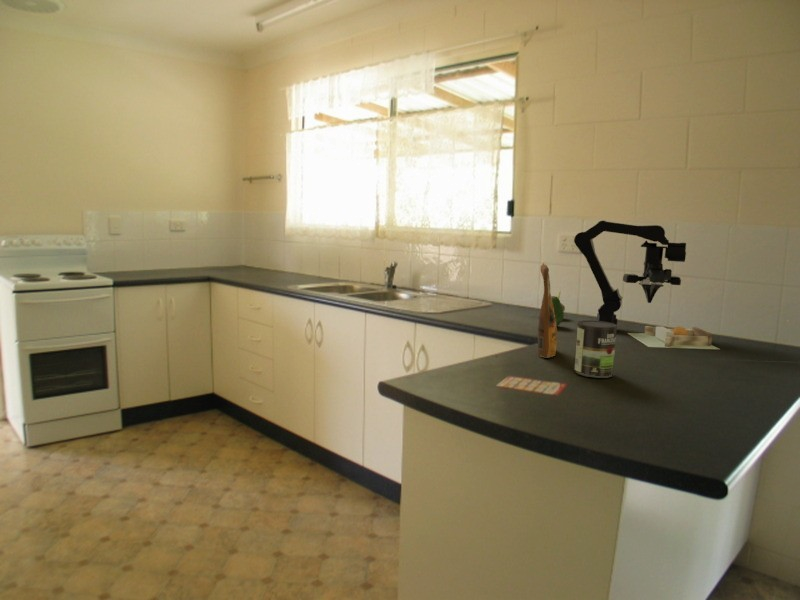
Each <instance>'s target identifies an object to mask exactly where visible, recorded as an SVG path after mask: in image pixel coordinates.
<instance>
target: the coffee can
mask: <svg viewBox="0 0 800 600" xmlns="http://www.w3.org/2000/svg"><path fill="white" fill-rule="evenodd" d="M576 325H577V330H576V331H577V332H576V344H575V345H576V346H575V347H576V348H575V358H574V359H575V360H574V370H576V371H578V372H581V373H584V374H589V375H595V376H609V375H612V374H613V375H614V365H615V355H616V342H617V339H616V338H617V332H618V324H617V325H616V324H613V323H610V322H603V321H597V320H591V319H590V320H579V321H577V324H576Z"/></svg>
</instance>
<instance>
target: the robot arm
mask: <svg viewBox="0 0 800 600" xmlns="http://www.w3.org/2000/svg"><path fill="white" fill-rule="evenodd" d="M603 232H606V233H607V232H608V233H613V234H614V233H615V234H622V235H629V236H635V237H639V238H642V239H645V241H644V242H643V243H642V244H640V248H645V253H644V254H645V256H644V257H645V258H644V261H643V273H642V276H641V275H640V276H639V275H638V274H636V273H624V274H623V277H622V281H623V282H625V283H627V284H629V283H630V284H636V283H638V285H640V286H641V287H642V289H643V292H644V294H645V298H646V302H647V303H648V304H651V303H652V302H653V299H654V297H655V295H656V293H657V292H658V290H660V289H661V288H662V287H664V283H666V284H670V285H672V286H673V285H674V286H681V284H682V279H681V277H680V276H676V275H672V274H673V273H672V271H673V270H672V269H671V268H669V269H668V268H665V269H664V267H663V256H664V259H667V262H676V263H679V262H680V263H685V262H686V258H687V257H686V256H687V252H686V250H687V243H686V242H670V241H669V239H667V237H666V236H665V235H666V231H665V228H664V227H663V226H662V225H657V224H650V225H636V224H635V225H633V224H627V223H620V222H611V221H607V220H600V221H598V222H597V223H596V224H595V225H593V226H591V227H590V228H588V229H587V230H586V231H582V232H578V233H577V234H575V236H574V238H573V242H574V244H575V246H576V247H577V249H578V250H579V252H580V253H581V254H582V255H583V256H584V258H585V259H586V261H587V264H588V266H589V268H590V270H591V272H592V274H593V276H594V279H595V281H596V283H597V285H598V287H599V289H600V292H601V297H602V302H603V304H601V305H600V307H599V308H598V309H597V312H598V313H597V314H596V321H603V322H610V323H613V324H616V325H617V326H618V318H617V315H616V314H615V313H616V312H617V311H619V309H621V306H622V304H623V301H622V300H623V296H622V295H621V294H620V290H619V288H616V289H615V288H614V287H613V286H612V285H611V283H610V281H609V279H608V276H607V275H606V272H605V270H604V268H603V266H602V264H601V262H600V260H599V257H598V255H597V253H596V248H595V244H594V241H593V240H594V239H595V238H596V237H598V236H599V235H601V234H602V233H603ZM648 241H651V242H648ZM657 242H658V243H660V244H661V246H660V245H658V243H657ZM664 249H665V251H664Z"/></svg>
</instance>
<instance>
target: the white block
mask: <svg viewBox="0 0 800 600" xmlns="http://www.w3.org/2000/svg"><path fill="white" fill-rule="evenodd" d="M655 327H656V334H655V337H657V338H658V339H660V340H662V341H664V342H665V338H666V337H669V336H673V334H674V332H673V331H671V330H669V329H670V328H666V327H665V326H655Z"/></svg>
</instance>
